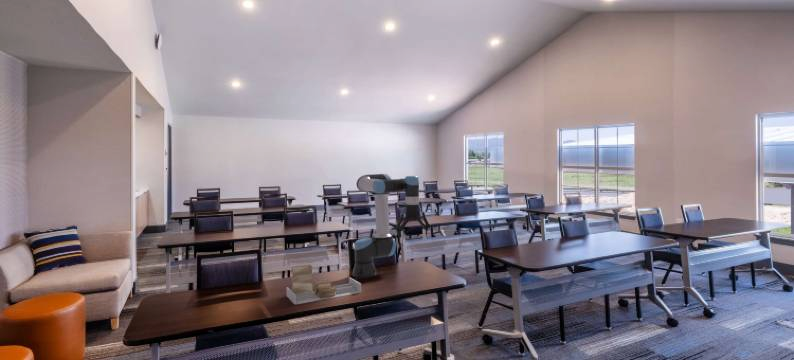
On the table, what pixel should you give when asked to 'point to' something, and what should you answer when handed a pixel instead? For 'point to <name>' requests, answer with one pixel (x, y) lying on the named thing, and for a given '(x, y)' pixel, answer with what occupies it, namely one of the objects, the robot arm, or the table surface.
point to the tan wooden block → (302, 280)
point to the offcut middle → (326, 290)
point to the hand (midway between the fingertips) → (412, 242)
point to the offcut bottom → (324, 294)
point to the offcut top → (323, 285)
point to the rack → (340, 291)
